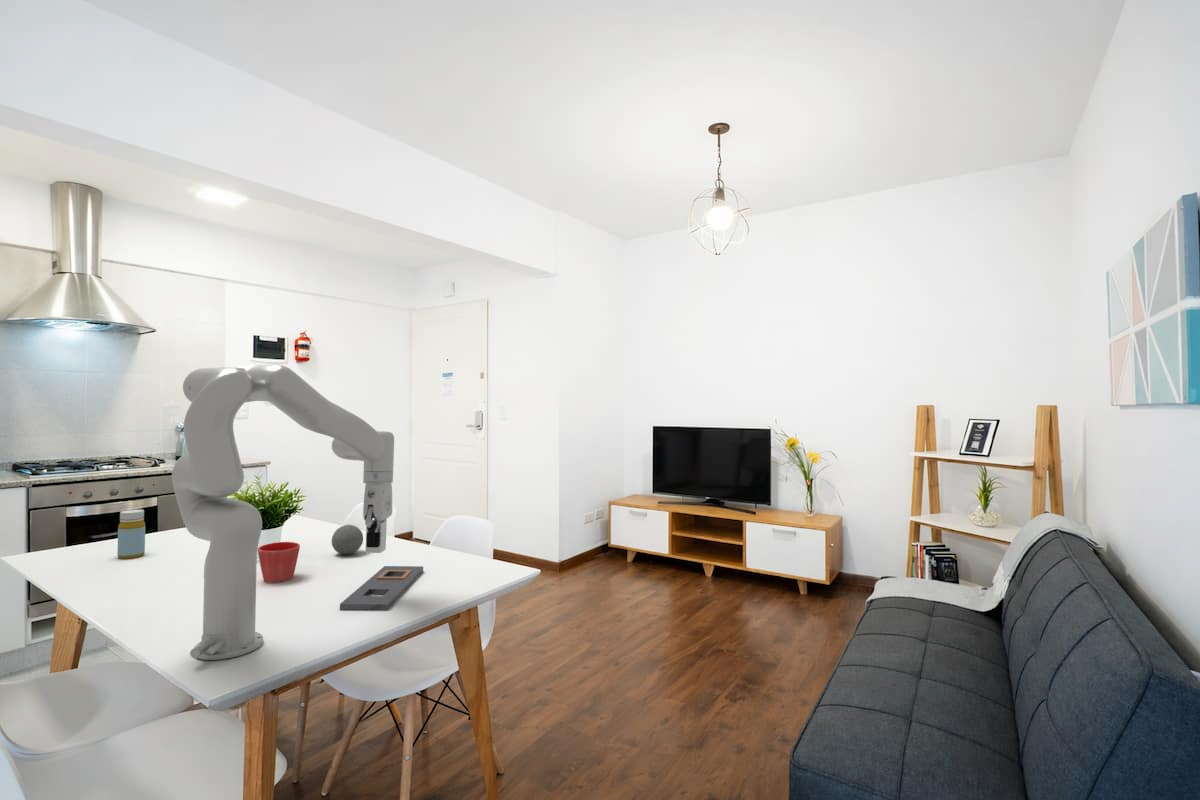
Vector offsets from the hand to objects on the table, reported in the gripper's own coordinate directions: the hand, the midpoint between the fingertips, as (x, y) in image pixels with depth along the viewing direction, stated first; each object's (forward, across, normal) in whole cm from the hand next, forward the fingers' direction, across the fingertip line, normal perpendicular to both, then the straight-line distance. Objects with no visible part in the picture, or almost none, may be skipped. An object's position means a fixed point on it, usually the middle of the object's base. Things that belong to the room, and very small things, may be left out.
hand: (375, 544), depth 157 cm
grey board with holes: (+14, +9, 0) cm, 17 cm away
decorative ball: (+14, +45, +25) cm, 53 cm away
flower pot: (+15, +17, +34) cm, 40 cm away
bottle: (+15, +39, +93) cm, 101 cm away
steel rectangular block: (+2, 0, 0) cm, 2 cm away
